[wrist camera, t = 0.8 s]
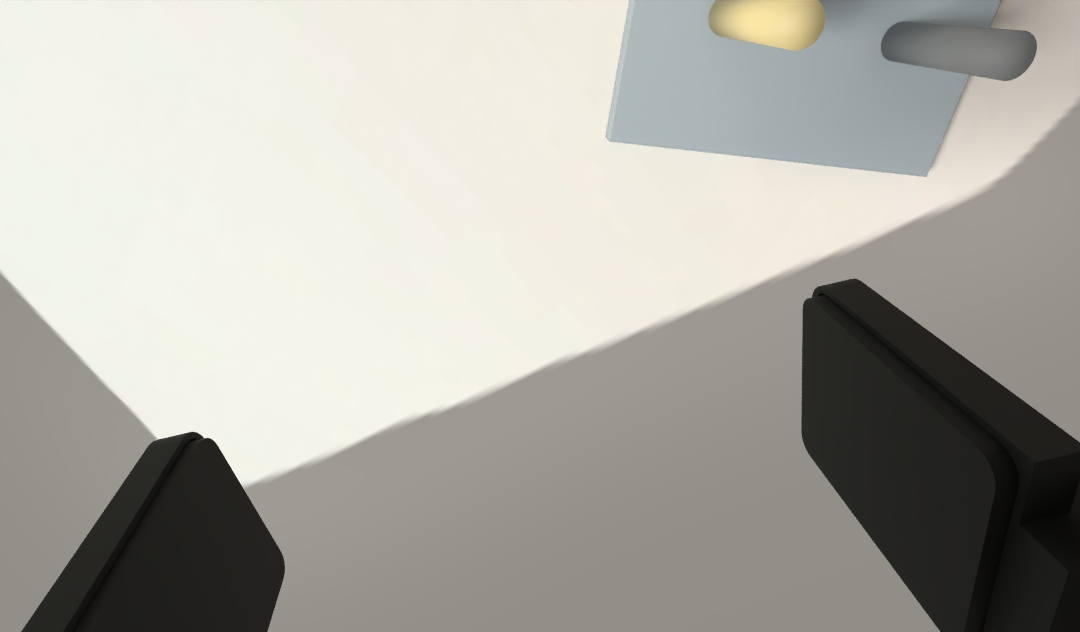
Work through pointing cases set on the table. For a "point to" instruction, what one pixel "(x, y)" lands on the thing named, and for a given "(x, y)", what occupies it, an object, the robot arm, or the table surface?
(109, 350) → the table surface
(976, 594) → the robot arm
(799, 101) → the board
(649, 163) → the table surface
